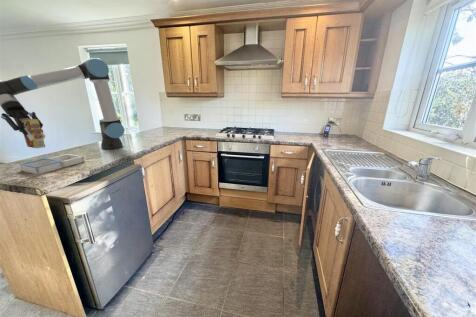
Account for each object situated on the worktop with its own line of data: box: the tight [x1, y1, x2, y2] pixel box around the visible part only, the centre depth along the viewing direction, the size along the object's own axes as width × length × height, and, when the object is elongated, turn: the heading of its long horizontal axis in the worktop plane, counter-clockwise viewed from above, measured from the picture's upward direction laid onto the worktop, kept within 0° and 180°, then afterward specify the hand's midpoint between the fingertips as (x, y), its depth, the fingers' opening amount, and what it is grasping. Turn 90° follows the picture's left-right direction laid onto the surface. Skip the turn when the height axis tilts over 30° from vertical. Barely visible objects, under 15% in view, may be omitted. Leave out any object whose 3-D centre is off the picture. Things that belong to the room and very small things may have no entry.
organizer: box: [19, 153, 85, 175], centre depth 116 cm, size 24×14×4 cm, turn 161°
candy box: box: [19, 118, 46, 149], centre depth 105 cm, size 9×4×15 cm, turn 70°
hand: (38, 138), depth 105 cm, fingers closed on candy box, 4 cm apart
